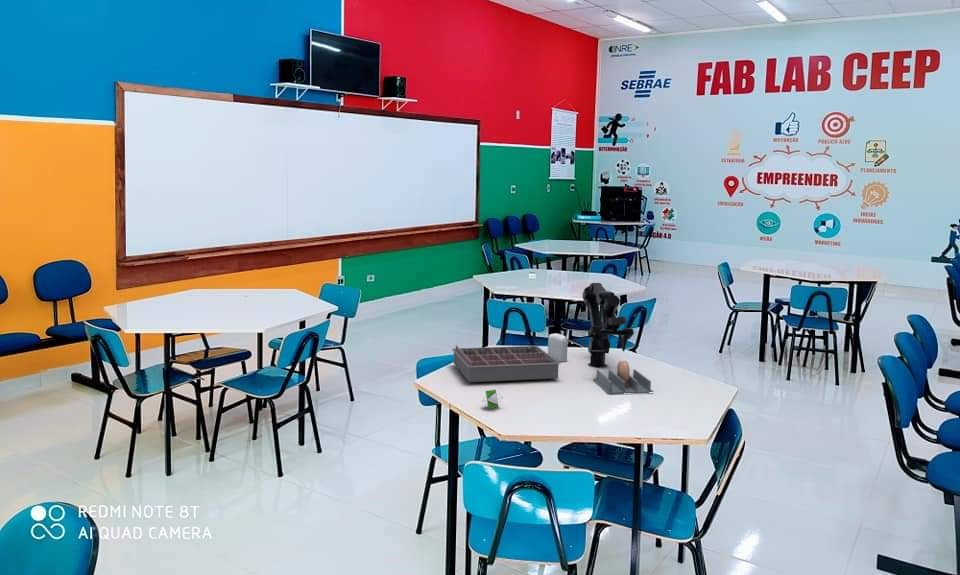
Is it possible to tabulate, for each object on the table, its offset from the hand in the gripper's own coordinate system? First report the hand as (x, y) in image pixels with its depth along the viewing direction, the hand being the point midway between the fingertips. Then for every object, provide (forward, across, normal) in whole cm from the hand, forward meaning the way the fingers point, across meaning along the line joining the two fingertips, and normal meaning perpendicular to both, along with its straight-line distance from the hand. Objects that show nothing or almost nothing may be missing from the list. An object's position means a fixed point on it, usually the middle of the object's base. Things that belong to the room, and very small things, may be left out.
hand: (613, 350), depth 318 cm
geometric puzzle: (+33, -57, -11) cm, 67 cm away
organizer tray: (+2, -42, +24) cm, 48 cm away
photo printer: (-13, -12, +38) cm, 41 cm away
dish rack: (+16, +2, +1) cm, 16 cm away
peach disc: (+15, +2, +1) cm, 15 cm away
